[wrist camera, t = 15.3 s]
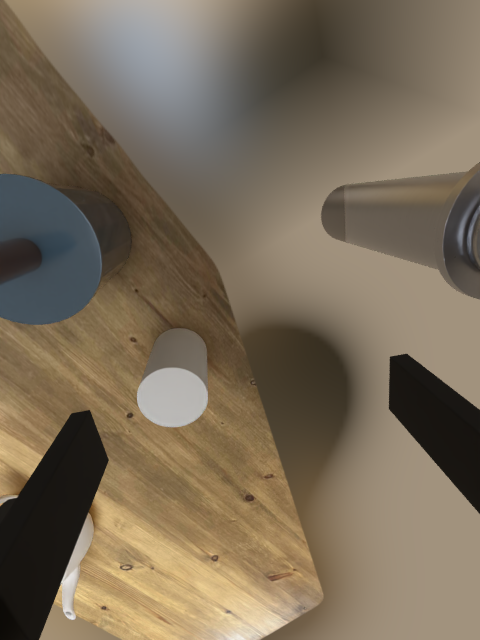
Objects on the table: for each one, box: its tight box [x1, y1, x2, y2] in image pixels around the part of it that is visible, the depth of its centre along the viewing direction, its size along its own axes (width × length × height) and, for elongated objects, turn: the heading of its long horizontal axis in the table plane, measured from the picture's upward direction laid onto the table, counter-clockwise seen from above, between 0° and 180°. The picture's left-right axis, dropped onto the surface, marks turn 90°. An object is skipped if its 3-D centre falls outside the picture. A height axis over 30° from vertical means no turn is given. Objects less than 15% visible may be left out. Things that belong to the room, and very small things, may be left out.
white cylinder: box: [137, 328, 208, 427], centre depth 43 cm, size 8×8×12 cm
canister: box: [48, 183, 132, 289], centre depth 35 cm, size 12×12×14 cm
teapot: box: [0, 495, 94, 620], centre depth 52 cm, size 25×16×12 cm, turn 21°
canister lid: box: [0, 174, 104, 325], centre depth 25 cm, size 13×13×9 cm
